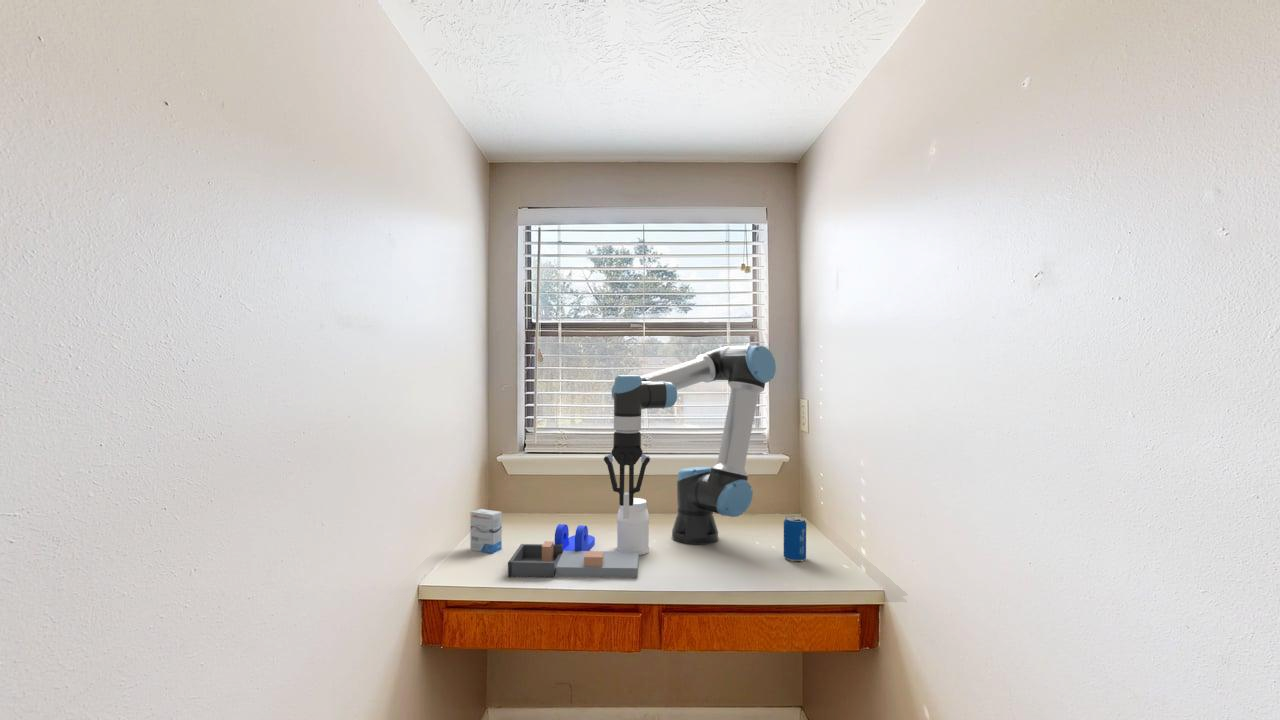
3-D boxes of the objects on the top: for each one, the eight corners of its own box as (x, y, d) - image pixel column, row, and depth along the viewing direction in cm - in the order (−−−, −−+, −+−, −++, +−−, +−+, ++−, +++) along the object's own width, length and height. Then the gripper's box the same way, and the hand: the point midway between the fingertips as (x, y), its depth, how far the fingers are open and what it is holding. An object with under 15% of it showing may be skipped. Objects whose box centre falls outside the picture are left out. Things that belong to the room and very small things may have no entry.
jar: (648, 555, 181) (649, 505, 181) (616, 555, 181) (617, 505, 181) (648, 543, 193) (648, 496, 193) (617, 543, 193) (618, 496, 193)
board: (638, 560, 177) (638, 551, 177) (637, 577, 163) (637, 568, 163) (563, 559, 177) (563, 550, 177) (555, 576, 163) (555, 567, 163)
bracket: (581, 559, 177) (581, 529, 177) (554, 558, 179) (554, 527, 179) (597, 541, 195) (597, 513, 195) (573, 540, 197) (573, 512, 197)
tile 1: (553, 541, 176) (545, 541, 176) (550, 546, 171) (541, 546, 171) (553, 558, 176) (544, 558, 176) (550, 564, 171) (541, 564, 171)
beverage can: (793, 564, 174) (794, 522, 174) (778, 557, 180) (779, 517, 180) (810, 560, 177) (811, 519, 177) (795, 554, 183) (795, 514, 183)
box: (562, 558, 178) (563, 544, 178) (554, 577, 162) (554, 562, 162) (521, 557, 179) (521, 544, 179) (507, 577, 163) (508, 562, 163)
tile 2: (603, 560, 169) (604, 551, 169) (602, 566, 164) (602, 557, 164) (586, 560, 169) (586, 551, 169) (584, 566, 164) (584, 557, 164)
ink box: (502, 549, 186) (502, 511, 186) (492, 554, 182) (492, 514, 182) (480, 545, 190) (480, 508, 190) (469, 550, 185) (469, 511, 185)
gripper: (651, 430, 170) (650, 514, 170) (604, 429, 170) (603, 513, 170) (650, 433, 162) (649, 521, 162) (602, 432, 163) (601, 520, 163)
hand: (626, 517), depth 166 cm, fingers closed
